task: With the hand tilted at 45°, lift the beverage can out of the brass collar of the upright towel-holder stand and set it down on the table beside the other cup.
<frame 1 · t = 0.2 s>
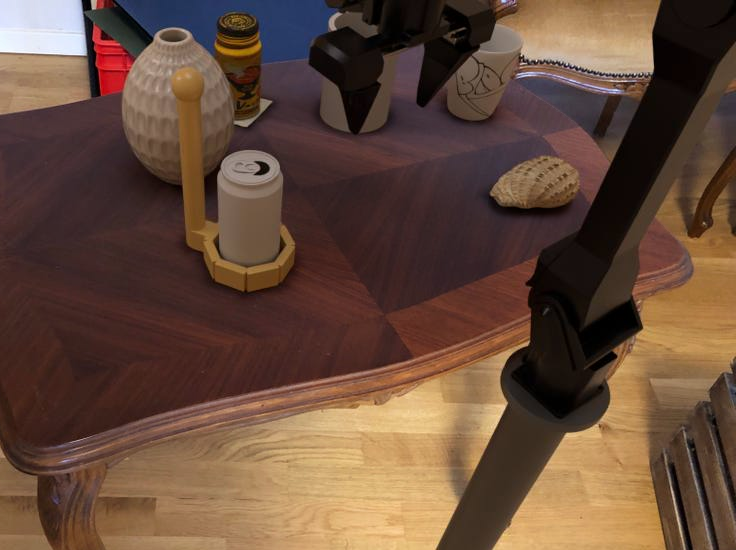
hand: (387, 118, 73), 12 cm above the table, tool pointing down, fingers open, 9 cm apart
seashell: (528, 202, 85), on the table
beverage can: (249, 261, 77), resting in holder
mug: (459, 106, 98), on the table
cup: (353, 115, 96), on the table
condiment: (232, 108, 97), on the table
holder: (249, 260, 77), on the table
vase: (182, 171, 87), on the table
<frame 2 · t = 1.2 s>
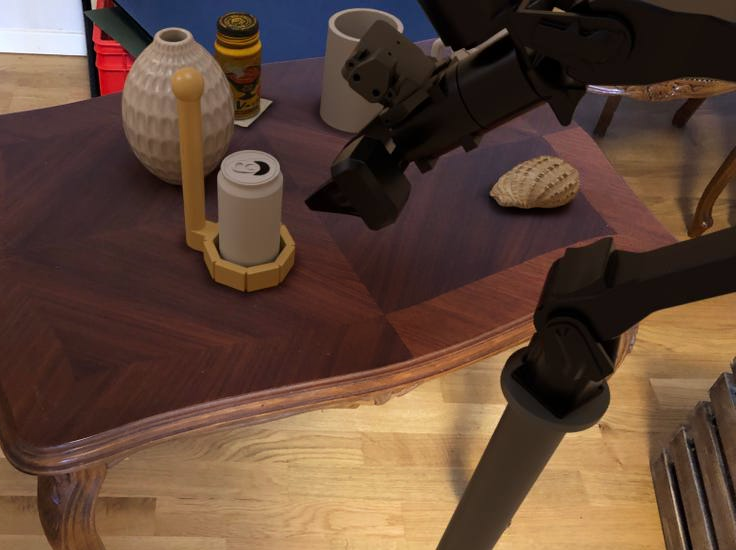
hand: (327, 177, 65), 13 cm above the table, tool tilted 45°, fingers open, 9 cm apart
nothing on the table moved.
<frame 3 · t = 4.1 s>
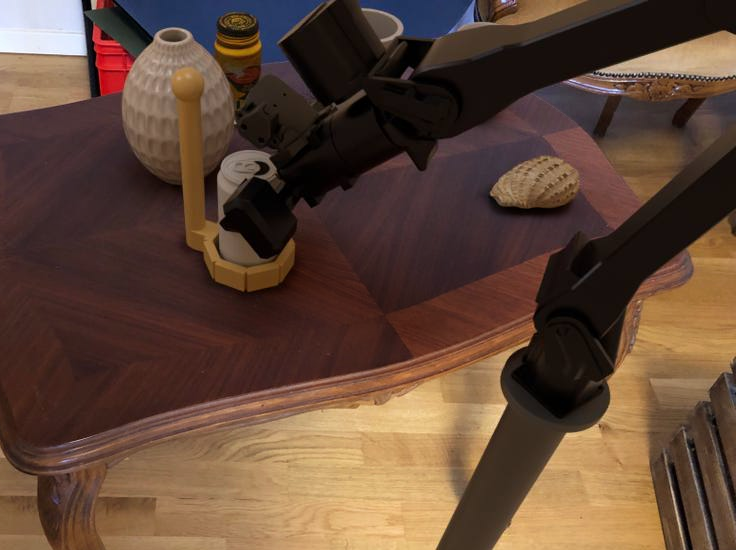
hand: (237, 207, 72), 7 cm above the table, tool tilted 45°, fingers closed on beverage can, 6 cm apart
beverage can: (249, 261, 77), resting in holder, touching gripper
everything else where it was.
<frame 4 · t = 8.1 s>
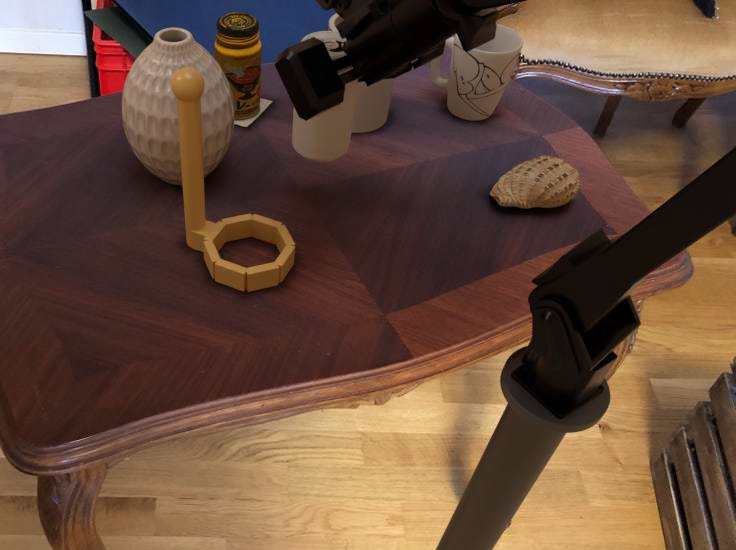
hand: (316, 88, 75), 13 cm above the table, tool tilted 45°, fingers closed on beverage can, 6 cm apart
beverage can: (319, 150, 79), point 6 cm above the table, touching gripper
everything else where it was.
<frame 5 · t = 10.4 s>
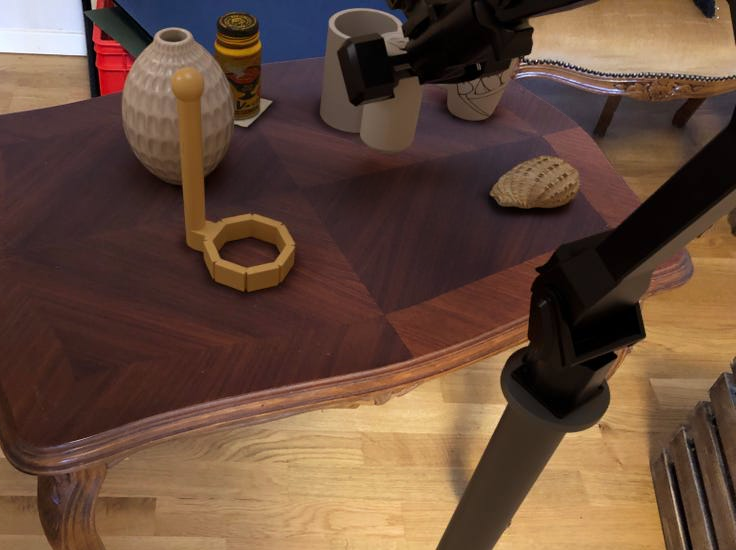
hand: (388, 84, 81), 11 cm above the table, tool tilted 45°, fingers closed on beverage can, 6 cm apart
beverage can: (385, 142, 85), point 4 cm above the table, touching gripper
everything else where it was.
when the fingers open (7 cm above the table, at t = 12.1 s): beverage can stays where it is, on the table.
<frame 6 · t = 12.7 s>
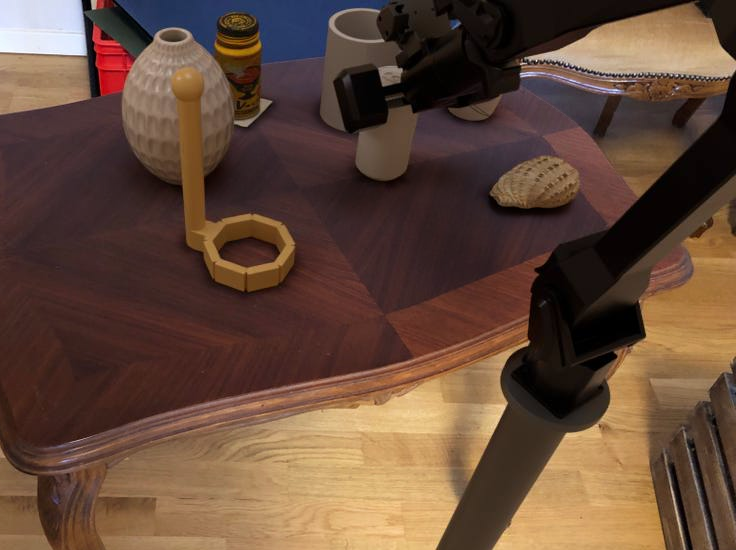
hand: (383, 108, 83), 7 cm above the table, tool tilted 45°, fingers open, 9 cm apart
beverage can: (379, 170, 88), on the table
everything else where it was.
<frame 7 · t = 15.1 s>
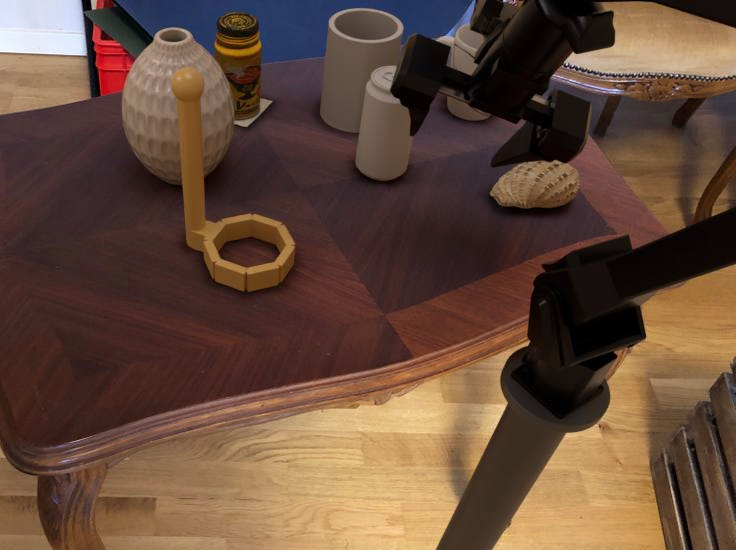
hand: (452, 148, 74), 10 cm above the table, tool tilted 25°, fingers open, 9 cm apart
nothing on the table moved.
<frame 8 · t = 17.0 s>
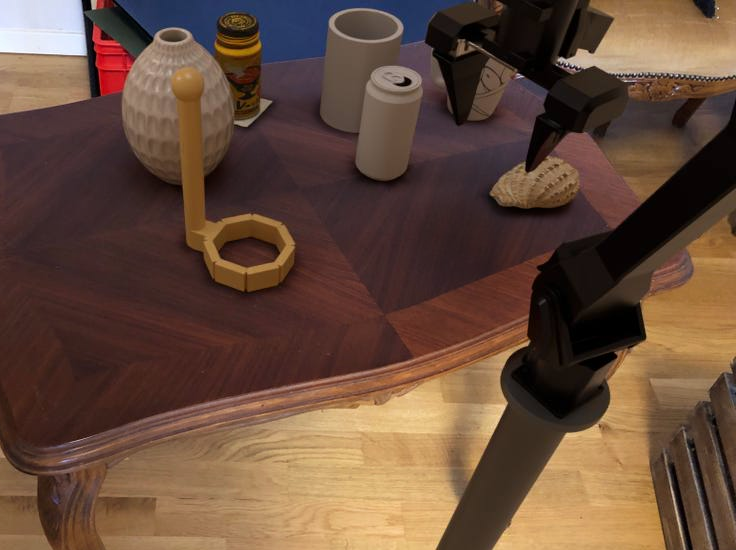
hand: (494, 146, 69), 13 cm above the table, tool pointing down, fingers open, 9 cm apart
nothing on the table moved.
at the end: beverage can inside the target area on the table beside the cup (0.1 cm from its centre), on the table; beverage can tilted 0°; beverage can touching table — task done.
